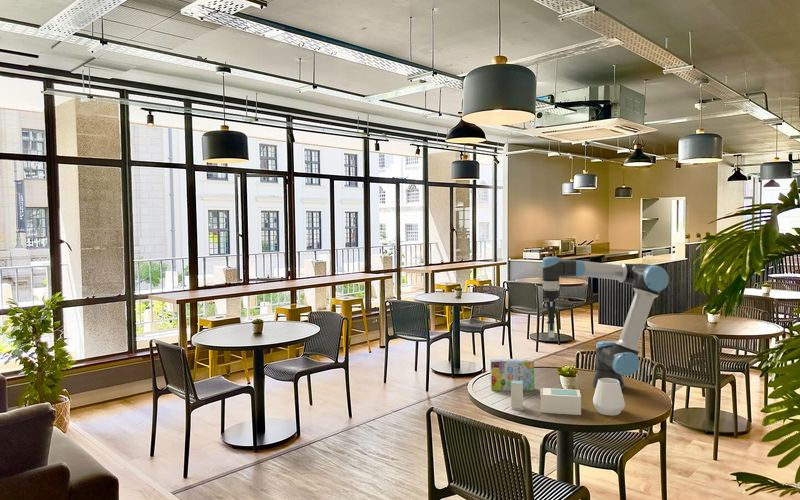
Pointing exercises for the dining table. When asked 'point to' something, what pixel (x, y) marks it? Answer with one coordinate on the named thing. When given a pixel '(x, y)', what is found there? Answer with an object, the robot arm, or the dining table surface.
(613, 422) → the dining table surface
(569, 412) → the white tissue box
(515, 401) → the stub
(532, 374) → the snack box
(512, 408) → the pad
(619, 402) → the white vase
